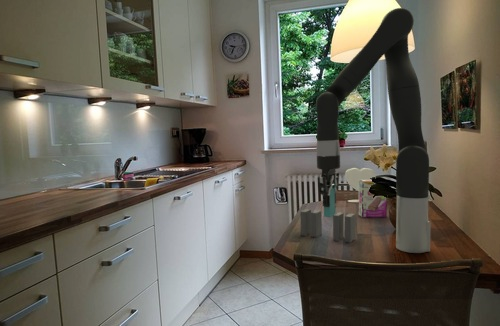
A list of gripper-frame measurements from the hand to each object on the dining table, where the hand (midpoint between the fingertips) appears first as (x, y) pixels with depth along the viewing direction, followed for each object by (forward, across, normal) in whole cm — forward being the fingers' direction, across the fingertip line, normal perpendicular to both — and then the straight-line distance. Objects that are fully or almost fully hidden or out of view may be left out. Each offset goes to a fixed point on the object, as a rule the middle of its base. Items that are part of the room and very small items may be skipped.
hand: (329, 205), depth 120 cm
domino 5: (+14, -9, +4) cm, 17 cm away
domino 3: (+3, 0, 0) cm, 3 cm away
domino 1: (+14, -9, -13) cm, 21 cm away
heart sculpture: (+14, -81, -14) cm, 84 cm away
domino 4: (+14, -9, 0) cm, 17 cm away
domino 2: (+14, -9, -9) cm, 19 cm away
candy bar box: (+14, -48, +1) cm, 51 cm away
